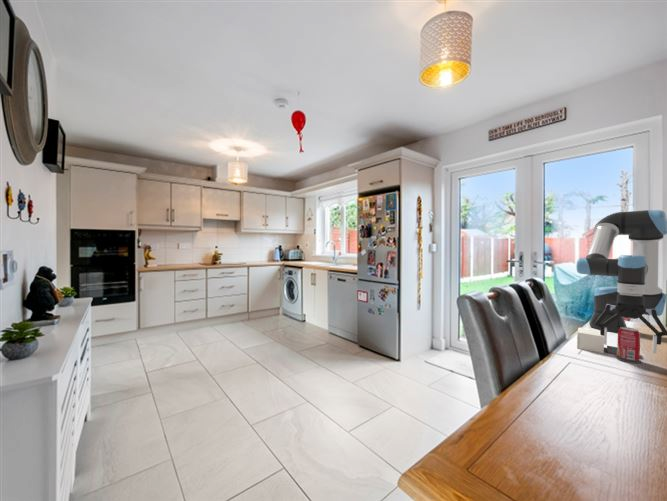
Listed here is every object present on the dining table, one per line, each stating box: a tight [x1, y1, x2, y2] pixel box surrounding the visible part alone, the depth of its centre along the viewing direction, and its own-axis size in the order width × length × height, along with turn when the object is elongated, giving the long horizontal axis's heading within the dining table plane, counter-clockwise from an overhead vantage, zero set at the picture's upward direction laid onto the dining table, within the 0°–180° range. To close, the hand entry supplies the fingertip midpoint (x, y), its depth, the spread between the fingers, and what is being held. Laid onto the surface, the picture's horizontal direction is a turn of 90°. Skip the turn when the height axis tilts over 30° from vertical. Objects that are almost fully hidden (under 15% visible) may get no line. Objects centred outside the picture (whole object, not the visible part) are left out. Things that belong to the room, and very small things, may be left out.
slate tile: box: [606, 345, 617, 355], centre depth 121 cm, size 6×9×2 cm, turn 49°
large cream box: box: [576, 327, 605, 354], centre depth 128 cm, size 8×11×7 cm
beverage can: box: [616, 326, 641, 361], centre depth 114 cm, size 6×6×12 cm
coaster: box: [615, 355, 642, 364], centre depth 114 cm, size 7×7×1 cm
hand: (628, 347), depth 114 cm, fingers open, 13 cm apart
